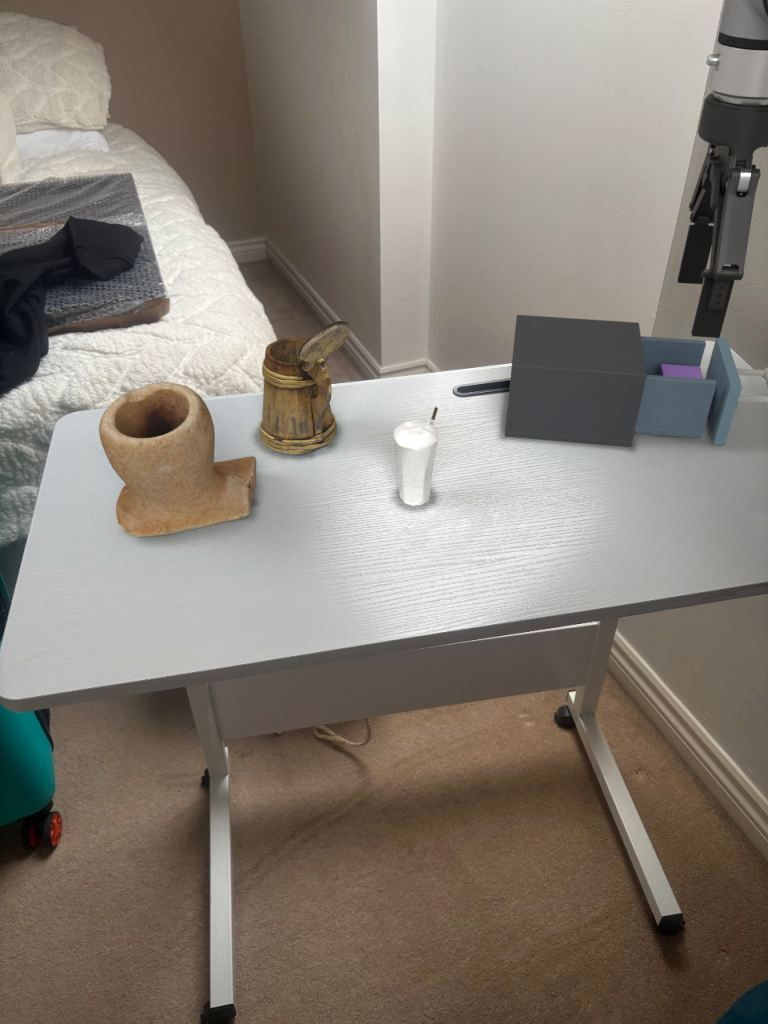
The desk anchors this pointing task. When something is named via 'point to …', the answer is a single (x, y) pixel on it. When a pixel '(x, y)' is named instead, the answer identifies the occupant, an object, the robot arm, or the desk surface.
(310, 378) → the wooden mug
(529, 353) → the cabinet
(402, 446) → the milkshake
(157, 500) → the stone cup
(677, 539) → the desk surface
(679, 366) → the cube
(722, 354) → the drawer
